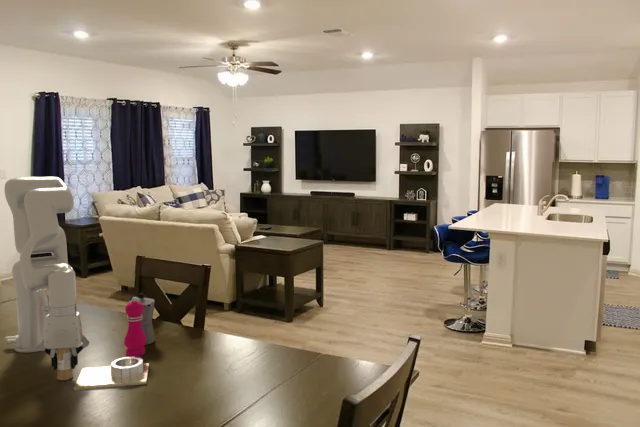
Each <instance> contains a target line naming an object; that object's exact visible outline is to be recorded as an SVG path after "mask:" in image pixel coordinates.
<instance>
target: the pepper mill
mask: <svg viewBox="0 0 640 427" xmlns="http://www.w3.org/2000/svg"><path fill="white" fill-rule="evenodd" d="M136 297H137V296H135V297H133V298H132V302H129V301H128V303H126V306H125V309H124V310H125V313H126V315H127V316H126V320H127V321H128V322H127V323H128V328H127V331H126V334H125V336H124V342H123V344H124V346H125V347H126V349H125V355H126V357H141V356H143V355H145V354H146V347H145V346H146V345H145V344H146V336H145V334H144V332H143V329H142V326H141V320H142V319H143V318H142V313H143V311H144V306H143V304H142V303H141V302H139V301H137V298H136Z"/></svg>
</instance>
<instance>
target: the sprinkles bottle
mask: <svg viewBox="0 0 640 427" xmlns="http://www.w3.org/2000/svg"><path fill="white" fill-rule="evenodd" d="M56 353H57V372H56V373H57V376H56V379H57V380H58V381H67V380H71V379H72V378H73V377H74V374H73V372H74V371H73V370H74V369H72V366H71V356H72V354H73V353H72V350H71V348H64V349H57V351H56Z"/></svg>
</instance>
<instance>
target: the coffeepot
mask: <svg viewBox="0 0 640 427" xmlns="http://www.w3.org/2000/svg"><path fill="white" fill-rule="evenodd" d="M138 294H139V297H138V296H135V295H132V296H131V297H130V298H129V301H128V303H129V302H132V298H133V297H136V298H137V301H139V302H141V303H142V304H143V306H144V311H143V313H142V318H143V319H142V320H141V326H142V329H143V332H144V334H145V336H146V344H145V345H144V346H147V345H150V344H153V343H154V342H155V341H156V338H155V333H154V326H153V323H152V322H153V321H152V319H153V316H154V308H155V299H154V298H150V297H145V296H144V295H145V294H144V293H142V292H141V293H138Z"/></svg>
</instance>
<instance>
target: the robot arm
mask: <svg viewBox="0 0 640 427" xmlns="http://www.w3.org/2000/svg"><path fill="white" fill-rule="evenodd" d="M4 195H5V196H4V197H5V200H6V203H7V204H8V207H9V208H10V211H11V214H12V220H13V221H12V222H13V235H14V236H13V237H14V245H15V249H16V252H18V253H19V260H18V261H16V262H15V263H14V264H13V265H12V269H11V273H12V279H13V283H14V284H13V285H14V288H15V297H16V312H17V313H16V314H17V330H18V331H17V333H18V334H15V335H14V336H12V335H10V336H9V335H8V336H5V337H4V338H5V340H4V341H5V343H6V344H7V345H8V344H14V345H13V350H14V351H16V352H18V353H21V354H22V353H24V354H25V353H38V352H44V353H45V354H46V355H48V356H49V357H50V358H51V367H52V368H53V371H56V370H57V349H64V348H71V350H72V356H71V366H72V369H73V370H74V369H76V367H77V366H78V365H79V363H78V361H79V360H78V359H79V358H78V357H79V356H78V355H79V354H80V353H81V352H82V351H83V350H84V349H85V348H86V347H89V345H90V341H89V340H88V339H87V337H86V336H85V335H84V333H83V326H82V320H81V315H80V312H79V311H77V286H76V285H77V282H76V281H77V280H76V272H75V270H74V269H73V267H72V266H71V265H70V264H69V261H68V260H69V259H68V245H67V236H66V232H65V230H64V229H63V228H62V227H61V226H60V225H59V221H58V220H59V219H58V214H63V213H65V214H68V213H70V212H72V211H73V209H74V204H75V202H74V197H73V194H72V192H71V189H69V186H67V185H66V183H65V182H64V181H63V180H62V179H61V178H60V177H58V176H21V177H14V178H10V179H8V180H7V181H6V182H5V184H4ZM47 253H50V254H51V255H49V256H42V257H41V256H38V257H31V256H32V255H37V254H47ZM46 290H47V292H48V294H47V293H45V291H46Z"/></svg>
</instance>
